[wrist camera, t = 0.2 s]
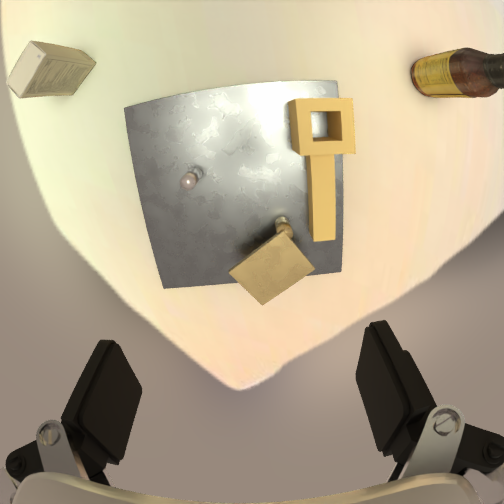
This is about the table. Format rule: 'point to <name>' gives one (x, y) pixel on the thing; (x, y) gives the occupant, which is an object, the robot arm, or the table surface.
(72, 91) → the skincare box
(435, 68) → the sauce bottle
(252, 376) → the table surface
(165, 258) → the pintle board
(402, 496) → the robot arm
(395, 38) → the table surface
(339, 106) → the link
